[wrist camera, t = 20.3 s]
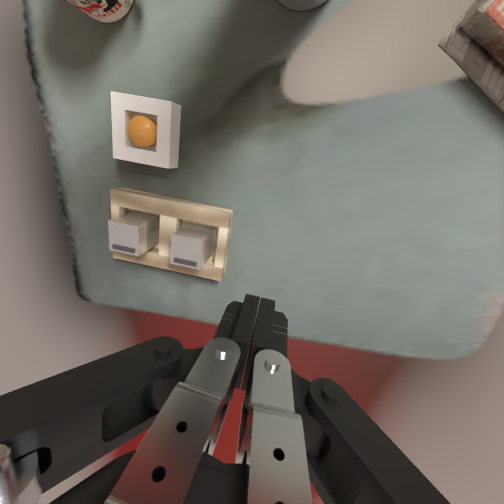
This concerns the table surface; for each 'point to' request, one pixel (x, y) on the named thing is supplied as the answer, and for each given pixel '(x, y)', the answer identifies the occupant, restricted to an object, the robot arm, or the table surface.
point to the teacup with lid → (104, 8)
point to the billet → (192, 245)
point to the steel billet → (133, 233)
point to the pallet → (175, 228)
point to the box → (167, 129)
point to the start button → (143, 131)
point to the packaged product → (480, 47)
